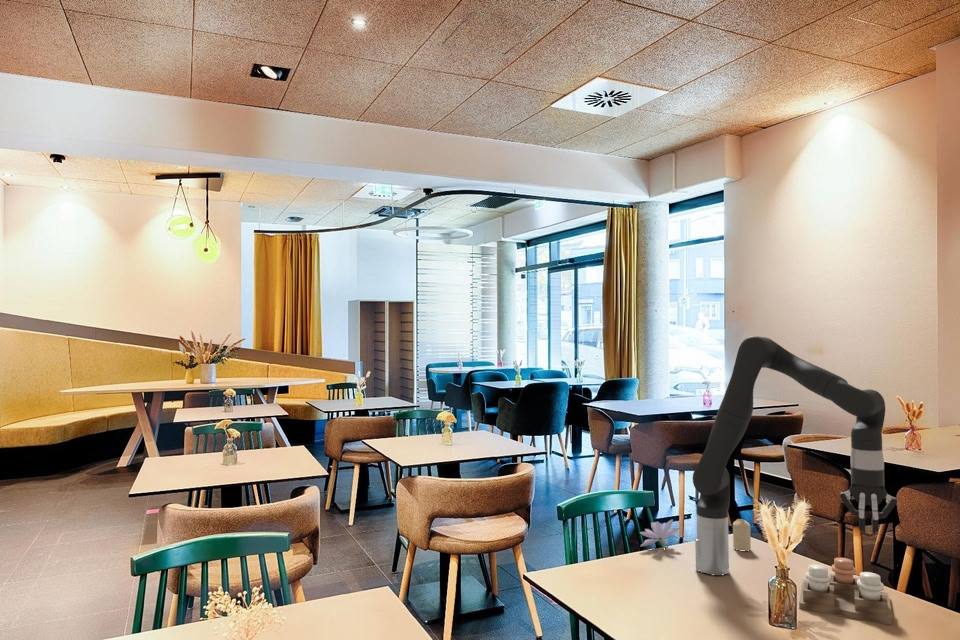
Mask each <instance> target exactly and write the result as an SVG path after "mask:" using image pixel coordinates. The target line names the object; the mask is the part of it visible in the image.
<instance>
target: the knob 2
mask: <svg viewBox="0 0 960 640" xmlns="http://www.w3.org/2000/svg"><path fill="white" fill-rule="evenodd" d="M857 586H858V587H859V588H861V597H862V598H864V599H868V600H874V601H880V600H881V598H880V592H884V589H885V585H884V583H883V582H881V575H879V574H878V573H873V572H871V571H861V572H860V573H859V579H858V580H857Z"/></svg>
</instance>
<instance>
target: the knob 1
mask: <svg viewBox="0 0 960 640" xmlns="http://www.w3.org/2000/svg"><path fill="white" fill-rule="evenodd" d="M805 578H806V580H809V587H810V589H811V590H813V591H819V592H827V591H828V583H829V582H831V576H830V574H829V567H827V566H824V565H821V564H809V565H808V571H806V572H805Z"/></svg>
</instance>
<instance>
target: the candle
mask: <svg viewBox="0 0 960 640" xmlns="http://www.w3.org/2000/svg"><path fill="white" fill-rule="evenodd" d="M732 537H733V538H732V541H733V542H732V543H733V544H732V546H733V547H734V548H735V549H738V550H745V551H748V550H750V551H751V550H752V543H751V524H750V523H749V522H748V521H747V520H745V519H743V518H737V519H736V520H735V521H733V523H732ZM734 548H733V549H734ZM735 549H734V550H735ZM748 552H749V551H748Z"/></svg>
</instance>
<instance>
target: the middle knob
mask: <svg viewBox="0 0 960 640" xmlns="http://www.w3.org/2000/svg"><path fill="white" fill-rule="evenodd" d="M833 560H834V563H833V564H832V565H831V571H832V572H834V575H835V581H836V582H838V583H844V584H853V578H854V576H855V575H856V574H857V568H856V567H854V560H852V559H850V558H846V557H834V559H833Z"/></svg>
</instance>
